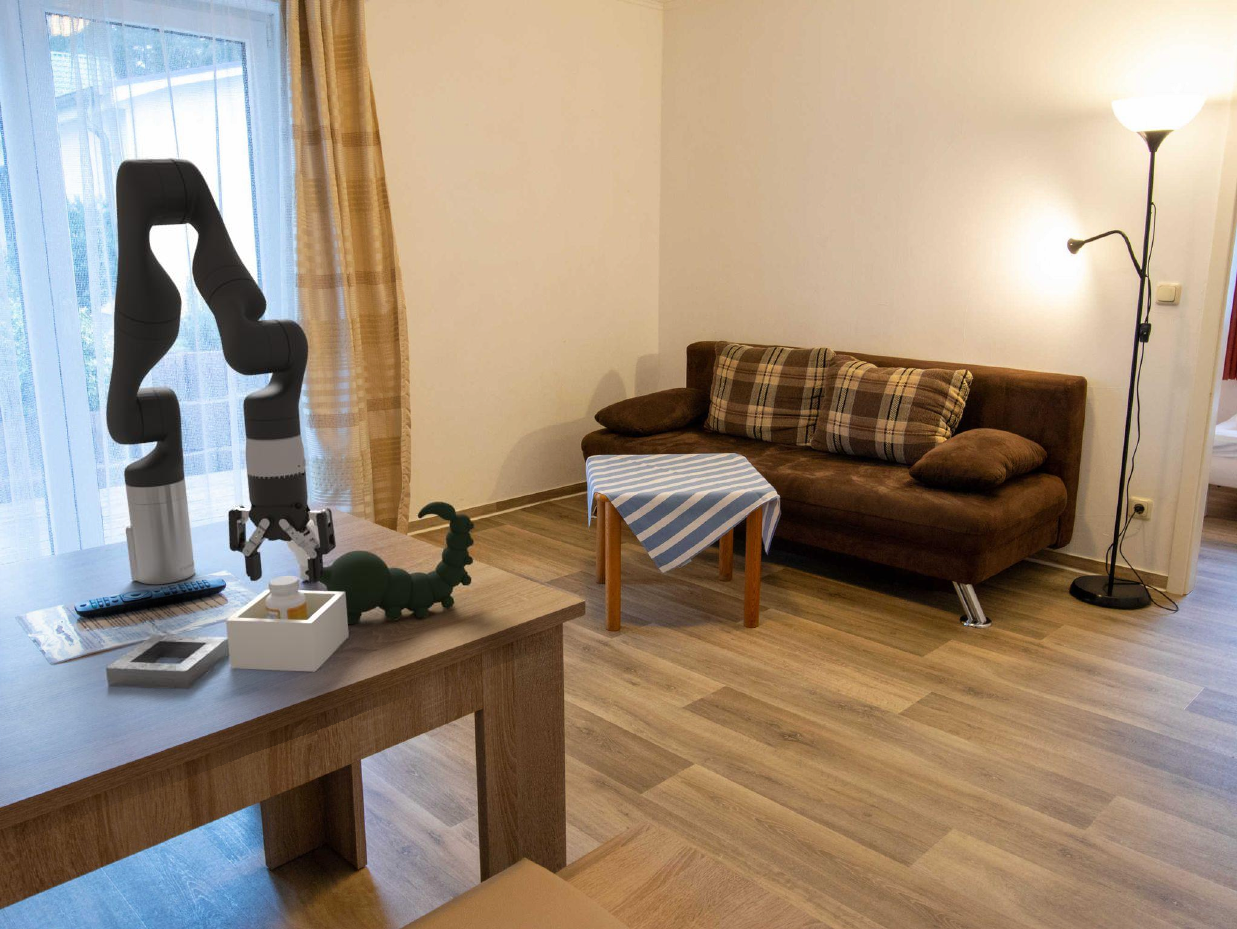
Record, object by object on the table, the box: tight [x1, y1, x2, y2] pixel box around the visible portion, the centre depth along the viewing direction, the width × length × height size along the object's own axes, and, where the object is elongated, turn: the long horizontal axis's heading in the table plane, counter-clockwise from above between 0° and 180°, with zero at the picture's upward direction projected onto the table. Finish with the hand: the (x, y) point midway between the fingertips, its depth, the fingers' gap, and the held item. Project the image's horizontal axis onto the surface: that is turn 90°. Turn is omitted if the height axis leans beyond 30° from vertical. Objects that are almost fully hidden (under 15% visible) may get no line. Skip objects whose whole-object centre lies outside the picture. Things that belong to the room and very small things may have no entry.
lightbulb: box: [285, 519, 319, 582], centre depth 163 cm, size 6×6×11 cm
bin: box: [225, 588, 349, 673], centre depth 134 cm, size 12×12×7 cm
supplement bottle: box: [265, 575, 307, 620], centre depth 134 cm, size 5×5×10 cm
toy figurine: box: [305, 501, 475, 625], centre depth 146 cm, size 9×19×25 cm
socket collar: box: [105, 634, 230, 690], centre depth 129 cm, size 11×11×2 cm
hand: (285, 580), depth 133 cm, fingers open, 8 cm apart
